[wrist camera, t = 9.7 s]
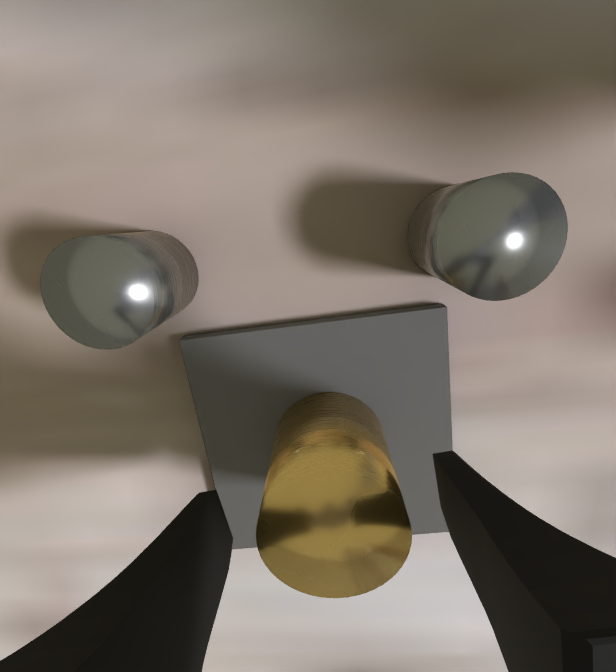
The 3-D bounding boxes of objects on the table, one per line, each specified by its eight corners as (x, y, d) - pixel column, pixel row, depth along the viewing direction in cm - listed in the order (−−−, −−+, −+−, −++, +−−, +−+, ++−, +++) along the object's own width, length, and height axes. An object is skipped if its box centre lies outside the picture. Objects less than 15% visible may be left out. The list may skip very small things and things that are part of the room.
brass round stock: (373, 382, 15) (399, 459, 10) (392, 477, 16) (421, 586, 11) (263, 403, 15) (237, 486, 11) (289, 495, 17) (276, 607, 12)
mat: (442, 303, 15) (447, 306, 14) (451, 520, 17) (455, 531, 17) (184, 336, 15) (178, 340, 15) (233, 538, 18) (230, 549, 18)
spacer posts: (500, -273, 10) (606, -570, 6) (499, 271, 14) (564, 292, 10) (-7, -153, 11) (-177, -343, 7) (127, 320, 15) (61, 355, 11)
